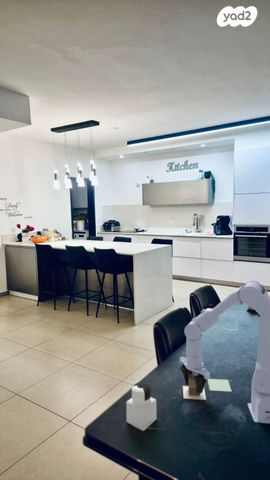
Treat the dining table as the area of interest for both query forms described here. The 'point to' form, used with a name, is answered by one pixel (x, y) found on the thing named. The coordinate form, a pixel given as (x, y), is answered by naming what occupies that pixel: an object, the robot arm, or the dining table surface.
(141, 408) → the medicine bottle
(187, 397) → the white tile
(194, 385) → the walnut block
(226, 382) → the sage mat
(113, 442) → the dining table surface
